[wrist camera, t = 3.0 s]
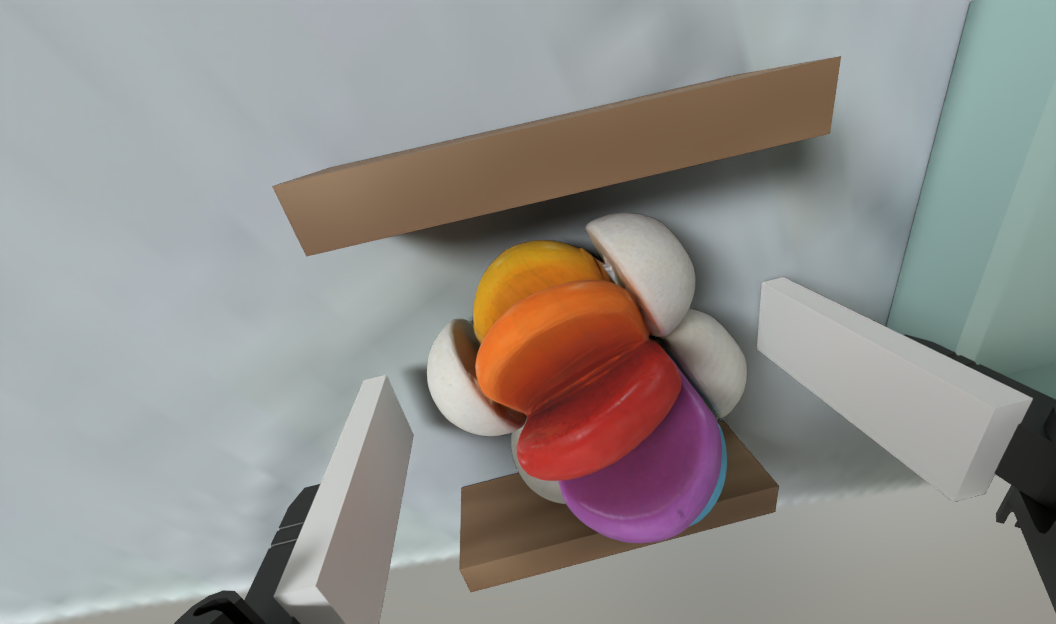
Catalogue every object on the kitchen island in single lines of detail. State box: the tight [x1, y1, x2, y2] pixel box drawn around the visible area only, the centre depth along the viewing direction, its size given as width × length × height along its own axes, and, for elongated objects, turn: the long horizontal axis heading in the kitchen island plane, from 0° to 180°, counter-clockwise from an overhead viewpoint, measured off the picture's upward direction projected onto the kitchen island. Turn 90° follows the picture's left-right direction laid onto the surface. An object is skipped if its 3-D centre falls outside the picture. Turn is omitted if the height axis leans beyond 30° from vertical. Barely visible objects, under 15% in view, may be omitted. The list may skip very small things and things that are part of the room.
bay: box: [272, 56, 841, 592], centre depth 13 cm, size 15×12×4 cm
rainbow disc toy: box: [427, 213, 747, 543], centre depth 11 cm, size 8×10×7 cm
